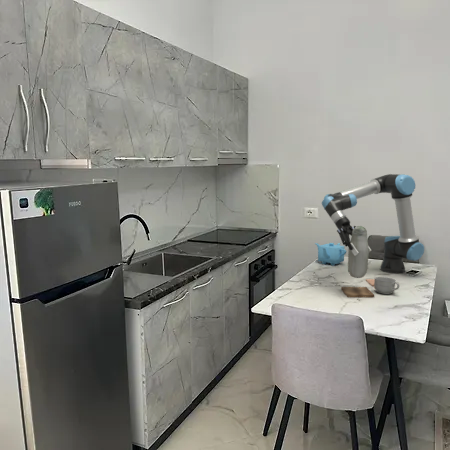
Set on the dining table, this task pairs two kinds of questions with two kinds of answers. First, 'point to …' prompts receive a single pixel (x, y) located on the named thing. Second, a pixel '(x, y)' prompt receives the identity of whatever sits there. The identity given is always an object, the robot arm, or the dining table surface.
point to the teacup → (385, 285)
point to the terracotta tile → (371, 281)
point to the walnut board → (357, 292)
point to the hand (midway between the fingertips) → (363, 253)
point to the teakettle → (331, 253)
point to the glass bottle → (360, 261)
